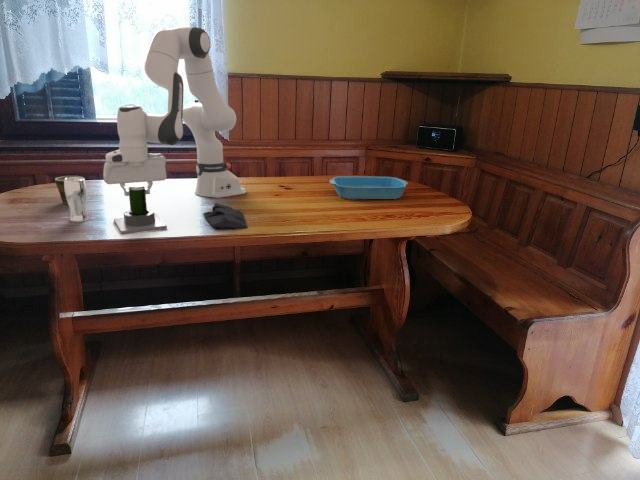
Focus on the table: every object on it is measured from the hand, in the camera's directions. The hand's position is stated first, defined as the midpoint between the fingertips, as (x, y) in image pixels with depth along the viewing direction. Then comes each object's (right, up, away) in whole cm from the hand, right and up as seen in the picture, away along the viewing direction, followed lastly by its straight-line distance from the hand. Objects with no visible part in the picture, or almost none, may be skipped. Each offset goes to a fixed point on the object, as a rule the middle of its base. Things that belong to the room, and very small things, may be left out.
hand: (137, 194), depth 168 cm
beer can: (0, -8, +3) cm, 9 cm away
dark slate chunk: (+28, -9, +14) cm, 32 cm away
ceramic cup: (-38, -1, +27) cm, 47 cm away
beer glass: (-24, -9, +7) cm, 26 cm away
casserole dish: (+86, +5, +60) cm, 105 cm away
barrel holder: (0, -11, +4) cm, 11 cm away
